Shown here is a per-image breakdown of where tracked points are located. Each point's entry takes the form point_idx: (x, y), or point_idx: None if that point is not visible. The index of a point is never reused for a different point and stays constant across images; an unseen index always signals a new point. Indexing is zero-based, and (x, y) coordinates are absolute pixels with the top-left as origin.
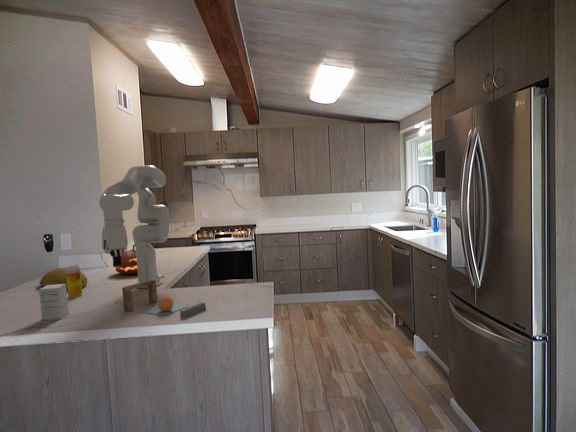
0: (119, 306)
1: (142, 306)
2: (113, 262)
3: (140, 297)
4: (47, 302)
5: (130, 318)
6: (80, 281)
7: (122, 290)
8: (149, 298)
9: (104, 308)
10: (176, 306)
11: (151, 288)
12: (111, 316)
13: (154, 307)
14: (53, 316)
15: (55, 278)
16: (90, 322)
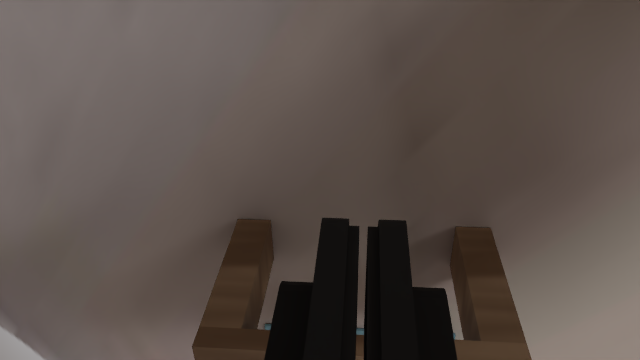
0: (303, 92)
1: (363, 249)
2: (280, 303)
3: (599, 34)
4: None
5: (171, 337)
6: None
7: (199, 327)
8: (458, 253)
9: (211, 14)
10: None
11: (467, 337)
12: (132, 228)
13: (359, 333)
14: None
15: None
16: (3, 205)
